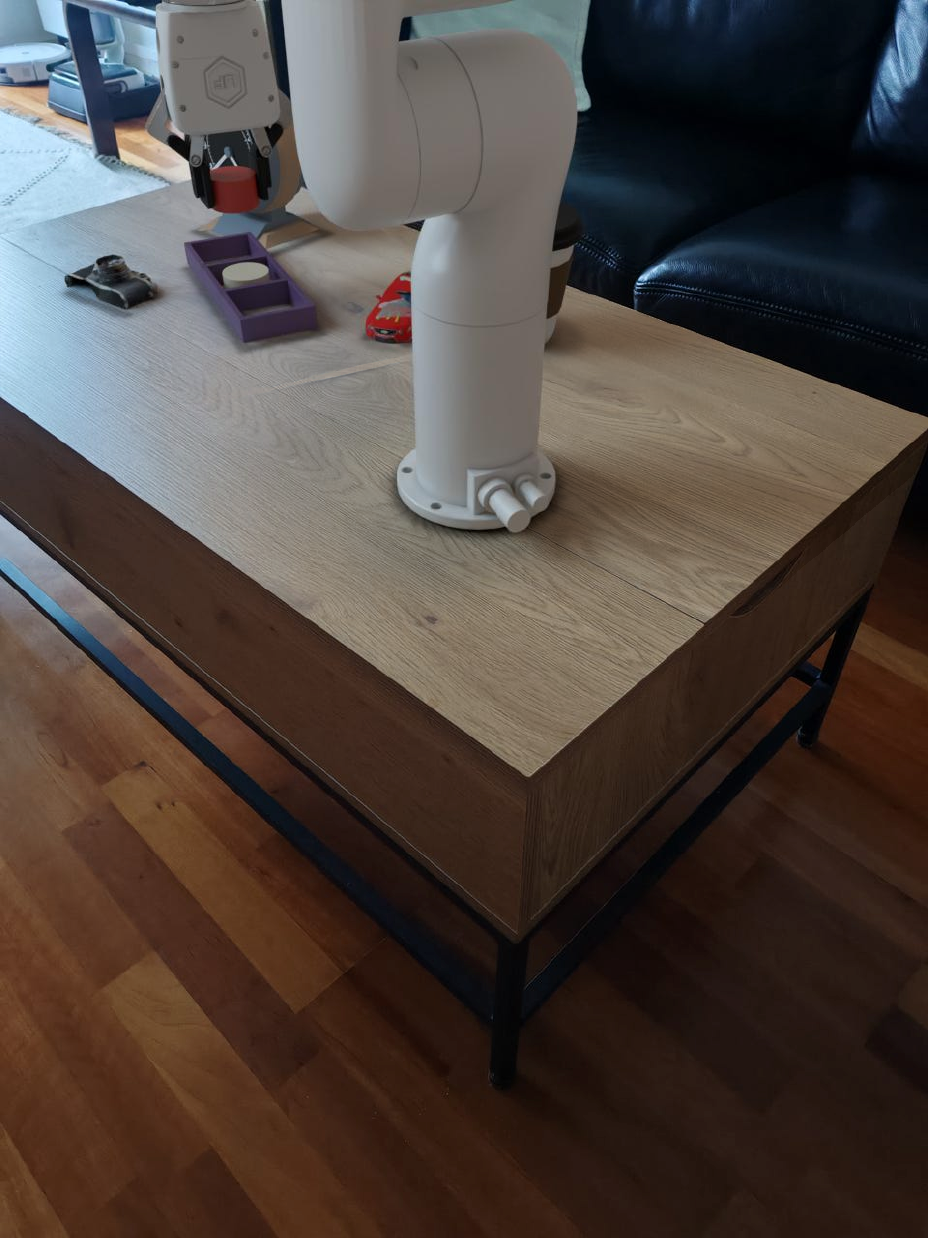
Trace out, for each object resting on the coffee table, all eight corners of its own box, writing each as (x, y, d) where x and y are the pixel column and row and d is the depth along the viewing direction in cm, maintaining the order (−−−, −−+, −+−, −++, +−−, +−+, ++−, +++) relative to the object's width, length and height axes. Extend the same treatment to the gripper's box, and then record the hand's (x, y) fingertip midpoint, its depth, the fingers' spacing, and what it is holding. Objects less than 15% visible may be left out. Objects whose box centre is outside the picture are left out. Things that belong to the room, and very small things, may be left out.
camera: (103, 276, 108) (94, 238, 105) (165, 300, 103) (158, 261, 101) (65, 291, 105) (54, 252, 102) (127, 316, 100) (118, 277, 98)
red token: (265, 209, 97) (261, 177, 95) (218, 216, 95) (213, 184, 93) (251, 194, 100) (247, 163, 98) (205, 200, 98) (200, 169, 96)
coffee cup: (447, 346, 96) (446, 222, 88) (493, 304, 103) (496, 187, 95) (549, 370, 92) (558, 243, 84) (589, 325, 100) (601, 204, 92)
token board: (318, 333, 98) (315, 305, 96) (244, 349, 95) (239, 320, 93) (254, 257, 112) (250, 231, 110) (188, 268, 110) (183, 242, 108)
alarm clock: (193, 229, 119) (163, 67, 107) (254, 208, 124) (233, 51, 112) (271, 259, 112) (249, 89, 100) (332, 235, 117) (318, 72, 106)
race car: (408, 354, 95) (407, 315, 92) (358, 345, 96) (355, 306, 93) (454, 299, 104) (454, 263, 101) (407, 292, 105) (406, 256, 103)
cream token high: (276, 286, 102) (274, 275, 101) (231, 294, 100) (229, 283, 99) (262, 270, 105) (260, 259, 104) (218, 277, 103) (217, 266, 102)
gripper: (113, 0, 79) (158, 225, 92) (310, -15, 85) (327, 199, 97) (96, -16, 84) (140, 200, 97) (283, -29, 90) (303, 177, 102)
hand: (234, 198), depth 97 cm, fingers closed on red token, 4 cm apart
